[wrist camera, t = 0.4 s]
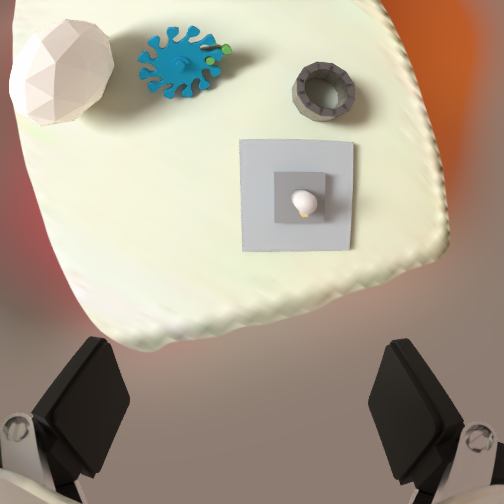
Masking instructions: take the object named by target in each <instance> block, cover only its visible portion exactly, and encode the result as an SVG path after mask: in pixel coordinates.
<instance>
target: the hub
mask: <svg viewBox="0 0 504 504" xmlns="http://www.w3.org/2000/svg"><path fill="white" fill-rule="evenodd" d="M312 78H321V79H325V80H326V81H328V82H330V83H331V84H333V86H334V87H335V89H336V90H337V92H338V104H337V106H336V107H335V109H323V108H320V107H319V106H317V105H315V104H314V103H312V102H311V101H310V99H309V98H308V96H307V95H306V93H305V81H307V80H310V79H312ZM292 96H293V102H294V104H295V106H296V107H297V109H298V110H299V112H300V113H301V114H303V115H304V116H306V117H308V118H310V119H311V120H313V121H329V120H331V119H333V118H335V117H337V116H339V115H341V114H343V113H345V112H347V111H349V109H350V107H351V106H352V104H353V102H354V100H355V86H354V83H353V82H352V80H351V78H350V77H349V75H348V74H347V72H346V71H344V70H343V69H341V68H340V67H338V66H336V65H335V64H333V63H325V62H315V63H313V64H311V65H308V66H306V67H304V68H303V70H302V71H301V73H300V74H299V76H298V78H297V79H296V81H295V83H294V85H293V87H292Z"/></svg>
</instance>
